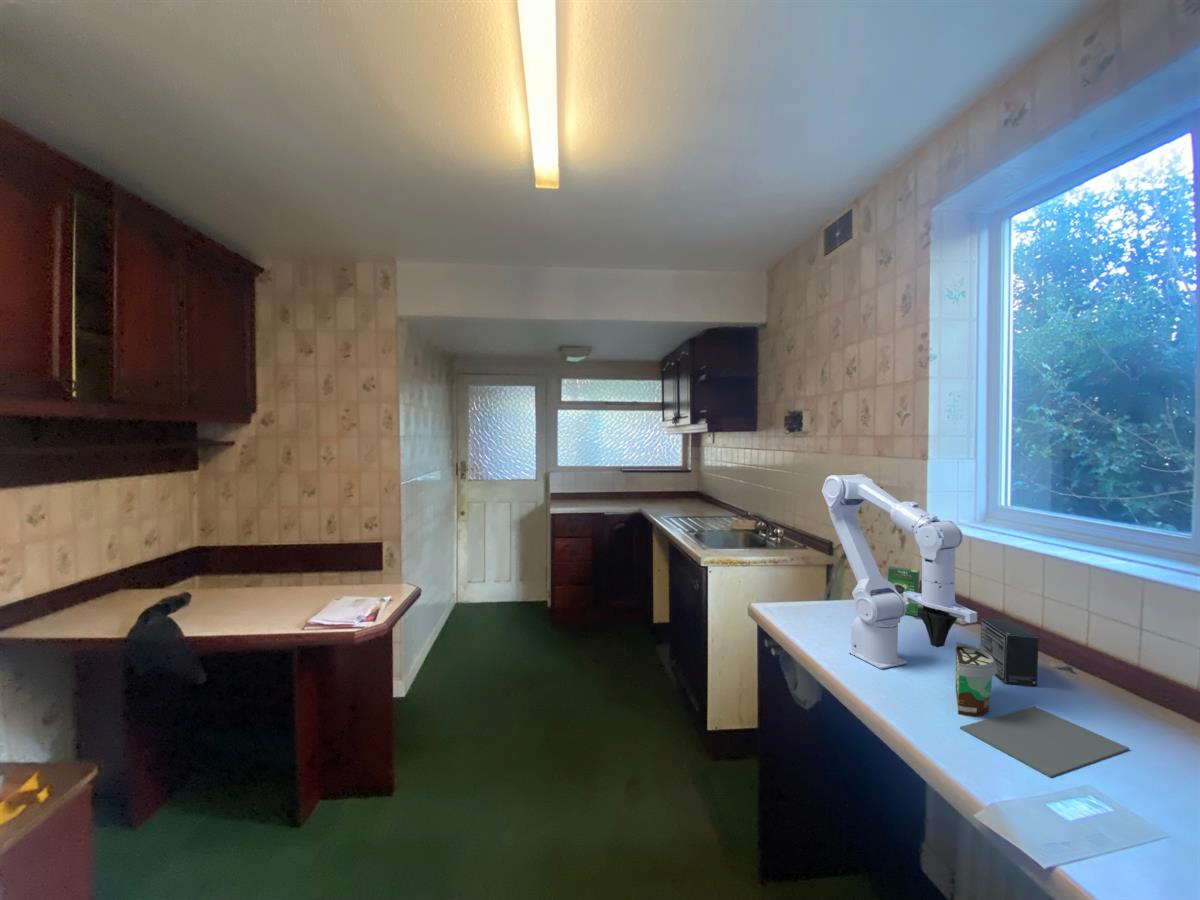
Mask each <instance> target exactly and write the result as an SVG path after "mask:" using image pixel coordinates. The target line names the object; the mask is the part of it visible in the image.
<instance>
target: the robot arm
mask: <svg viewBox="0 0 1200 900" xmlns="http://www.w3.org/2000/svg"><path fill="white" fill-rule="evenodd" d="M821 492H822V495H823V497H824V499H825V503H826V504H827V507H828V513H829V516H830V520H831V521H832V522H831V523H832V524H833V527H834V529H835V532H836V534H837V537H838V538H839V542H840V544H841V546H842V548H843V551H844V553H845V556H846V558H847V561H848V563H849V566H850V568H851V570H852V573H853V575H854V577H855V580H856V582H857V584H856V586H855V587H854V589H853V590H852V591H851V594H852V598H853V600H854V610H855V612H856V615H857V616H856V617H855V618H854V619H853V620H852V623H851V631H850V632H851V633H850V637H851V638H850V640H851V641H850V642H851V643H850V645H851V646H850V650H848V653H849V654H850V653H851V655H852V656H854V655H855V657H857V658H858V659H860V660H862V661H864V662H865V663H869V664H870V665H872V666H875V667H876V668H878V669H879V670H880V669H881V670H883V669H887V668H893V667H897V666H901V665H902V666H903V665H907V664H908V661H907V660H905V659H903V658H900V657H898V655H899V654H898V653H899V652H898V650H899V649H898V648H899V647H898V646H899V645H898V644H899V639H898V637H899V635H898V634H899V632H898V631H899V624H900V623H901V618H903V617H904V616H905V615H906V614H905V613H906V604H905V601H906V602H912V603H915V604H918V606H921V607H922V608H921V609H918V615H919V617H920V618H921V620H922V622H923V623H924V626H925V628H926V632H927V635H928V637H929V638H928V639H929V642H930V645H931V647H935V648H938V649H939V648H942V647H945V644H946V640H947V637H948V635H949V633H950V630H951V628H952V626H953V625H954V624H955V622H956V621H957V620H958V619H960V620H964V622H965V623H968V624H972V623H977V622H978V612H977V611H976V610H975V611H974V610H972V609H970V608H968V607H965V606H964V605H961V604H959V603H957V601H956V548H959V546H961V544H962V542H963V539H964V537H963V532H962V530H961V528H960V527H959V526H958V525H957V524H955V522H954V521H952V520H949V519H944V520H941V519H939V518H938V516H937V515H936V514H931V513H929V512H928V511H926V510H924V509H923V508H920V507H919V504H918V502H915V501H908V500H907V501H903V502H901V501H900V500H898V499H897V498H895V497H893V496H892V495H891V494H889V493H888V492H887V491H885V490H884V489H882V488H881V487H880V486H878V485H877V484H876V483H874V480H873V478H870V477H867V476H866V475H865V474H862V473H856V474H846V475H843V474H841V475H835V474H831V475H829V476H827V477H826V478H825V481H824V483H823V486H822V489H821ZM865 502H868V503H869V504H871V505H873V506H875V507H876V508H879V509H880V510H882V512H883V511H884V512H885V513H887V514H888V515H890V520H891V522H892V523H894V525H896V526H897V527H899V528H900V529H902V530H904V531H905V532H906V533H907V534H909V535H911V536H912V537H913V538H915V542H916V543H917V545H918V546H919V550H920V552H919V555H920V556H921V593H915V592H912V591H907V592H903V597H902V596H901V595H900V594H899V593H898V592H897V590H896V589H895V587H894V585H893V584H892V583H891V582H889V581H888V579H885V578H884V577H883V575H881V572H880V569H879V567H878V564H877V563H876V560H875V558H874V556H873V553H872V551H871V548H870V547H869V545H868V542H867V540H866V537H865V536H864V533H863V531H862V529H861V526H860V524H859V521H858V520H857V517H856V514H857V511H858V510H860V509H861V507H862V505H863V504H864V503H865Z"/></svg>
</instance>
